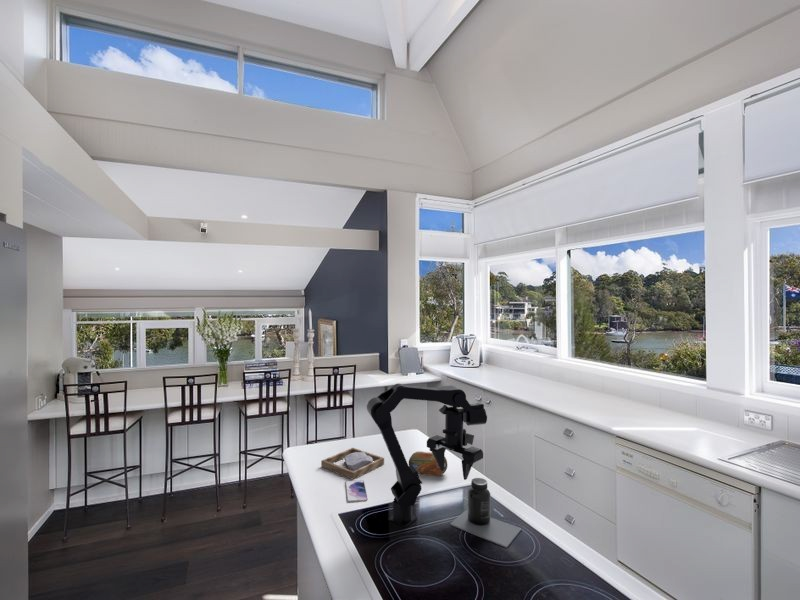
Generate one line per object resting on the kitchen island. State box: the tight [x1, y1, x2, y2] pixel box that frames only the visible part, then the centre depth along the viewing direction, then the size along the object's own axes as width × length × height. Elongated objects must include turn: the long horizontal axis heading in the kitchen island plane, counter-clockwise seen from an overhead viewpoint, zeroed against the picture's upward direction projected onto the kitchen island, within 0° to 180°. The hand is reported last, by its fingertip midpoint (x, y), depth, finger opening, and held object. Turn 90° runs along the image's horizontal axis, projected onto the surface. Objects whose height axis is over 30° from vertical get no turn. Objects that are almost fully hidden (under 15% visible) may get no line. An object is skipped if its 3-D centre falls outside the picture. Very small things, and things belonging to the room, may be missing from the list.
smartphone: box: [344, 479, 369, 504], centre depth 143 cm, size 7×1×15 cm
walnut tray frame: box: [320, 447, 385, 481], centre depth 164 cm, size 18×18×2 cm
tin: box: [408, 451, 448, 477], centre depth 157 cm, size 15×3×8 cm, turn 82°
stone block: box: [344, 451, 373, 471], centre depth 165 cm, size 12×5×10 cm
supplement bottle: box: [467, 477, 492, 526], centre depth 124 cm, size 7×7×12 cm
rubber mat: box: [449, 508, 522, 549], centre depth 121 cm, size 11×18×1 cm, turn 52°
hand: (453, 474), depth 129 cm, fingers open, 9 cm apart
